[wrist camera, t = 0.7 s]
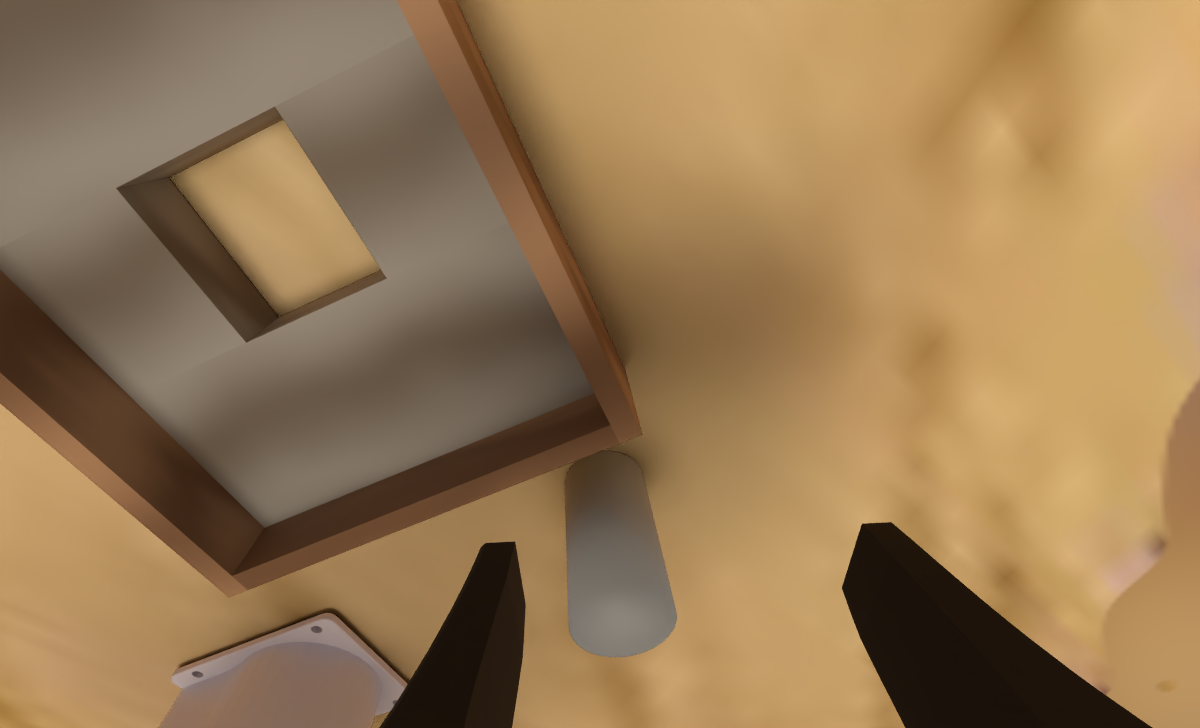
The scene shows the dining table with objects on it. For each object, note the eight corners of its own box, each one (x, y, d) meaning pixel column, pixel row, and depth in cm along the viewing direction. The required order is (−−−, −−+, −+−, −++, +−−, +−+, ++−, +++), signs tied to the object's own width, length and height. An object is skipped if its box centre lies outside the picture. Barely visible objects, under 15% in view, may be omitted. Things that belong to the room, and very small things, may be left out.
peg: (583, 523, 24) (594, 669, 18) (550, 469, 23) (550, 608, 16) (654, 496, 24) (690, 636, 18) (626, 439, 22) (655, 570, 16)
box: (625, 370, 21) (642, 434, 17) (286, 509, 22) (229, 597, 18) (304, -332, 12) (176, -556, 8) (-216, -9, 14) (-539, -55, 10)
